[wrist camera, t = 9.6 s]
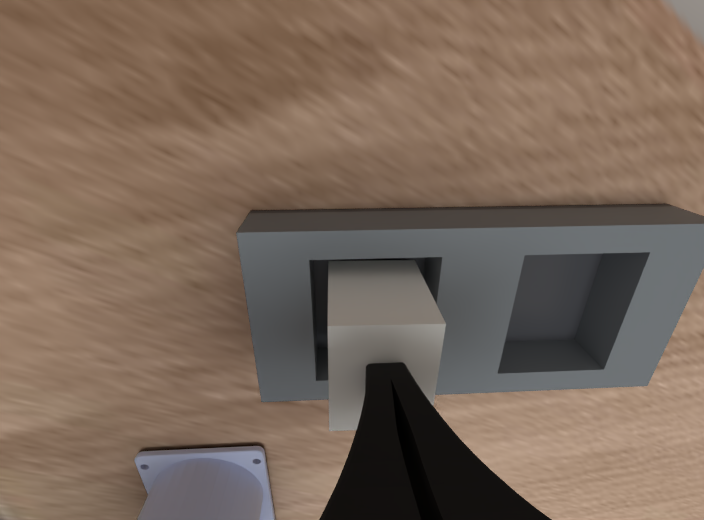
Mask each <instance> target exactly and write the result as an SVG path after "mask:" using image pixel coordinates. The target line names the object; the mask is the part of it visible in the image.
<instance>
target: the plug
mask: <svg viewBox="0 0 704 520" xmlns="http://www.w3.org/2000/svg"><path fill="white" fill-rule="evenodd" d="M445 327H446V323H445V321H444V319H443V317H442V315H441V313H440V311H439V308H438V306H437V304H436V302H435V300H434V298H433V296H432V294H431V292H430V290H429V288H428V286H427V284H426V282H425V280H424V278H423V276H422V274H421V272H420V270H419V268H418V266H417V264H416V262H415V260H375V261H328V383H329V431H343V430H357V427H358V423H359V420H360V416H361V412H362V407H363V402H364V397H365V380H366V366H367V365H368V364H372V363H398V362H403V363H404V364H405V365H406V366H407V368H408V370H409V371H410V373H411V375H412V376H413V378H414V379H415V381H416V383H417V384H418V386H419V387H420V389H421V390H422V392H423V393H424V394H425V396H426V397H427V399H428V400H429V401H430V403H431V404H432V405H433V404H434V398H435V391H436V385H437V379H438V372H439V366H440V359H441V353H442V347H443V340H444V334H445Z"/></svg>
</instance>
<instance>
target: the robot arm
mask: <svg viewBox="0 0 704 520" xmlns="http://www.w3.org/2000/svg"><path fill="white" fill-rule="evenodd" d="M134 460H135V464H136V466H137V469H138V471H139V474H140V476H141V479H142V481H143V484H144V486H145V489H146V491H147V494H148V496H147V499H146V501H145V503H144V505H143V507H142V510H141V512H140V514H139V516H138V519H137V520H275V514H274V507H273V501H272V495H271V488H270V482H269V476H268V469H267V463H266V456H265V451H264V449H263V448H262V447H260V446H243V447H222V448H201V449H180V450H159V451H142V452H139V453H138V454H137V456H136V458H135V459H134ZM319 520H551V519H550V518H549V517H547V516H546V515H544V514H543V513H542V512H540V511H539V510H537V509H536V508H535V507H534V506H532V505H531V504H530V503H529V502H527V501H526V500H525V499H524V498H522V497H521V496H520V495H519V494H517V493H516V492H515V491H514V490H513V489H512V488H510V487H509V486H508V485H507V484H506V483H505V482H504V481H503V480H501V479H500V478H499V477H498V476H497V475H496V474H495V473H493V472H492V471H491V470H490V469H489V468H488V467H487V466H486V465H485V464H484V463H483V462H482V461H481V460H480V459H479V458H478V457H477V456H476V455H475V454H474V453H473V452H472V451H471V450H470V449H469V448H468V447H467V446H466V445H465V444H464V443H463V442H462V441H461V440H460V438H459V437H458V436H457V435H456V434H455V433H454V432H453V430H452V429H451V428H450V427H449V426H448V424H447V423H446V422H445V421H444V420H443V418H442V417H441V416H440V415H439V413H438V412H437V411H436V409H435V408H434V407H433V405H432V404H431V403H430V401H429V400H428V399H427V397H426V396H425V394H424V393H423V392H422V390H421V389H420V387H419V386H418V384H417V383H416V381H415V379H414V378H413V376H412V375H411V373H410V371H409V370H408V368H407V366H406V365H405V364H404V363H403V362H398V363H372V364H368V365H367V366H366V380H365V397H364V402H363V407H362V412H361V416H360V420H359V423H358V427H357V430H356V434H355V437H354V440H353V443H352V446H351V449H350V452H349V455H348V458H347V460H346V463H345V465H344V468H343V470H342V473H341V475H340V478H339V480H338V482H337V484H336V487H335V489H334V491H333V493H332V495H331V497H330V499H329V501H328V503H327V505H326V507H325V510H324V512H323V514H322V516H321V518H320V519H319Z"/></svg>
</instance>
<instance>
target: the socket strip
mask: <svg viewBox="0 0 704 520" xmlns="http://www.w3.org/2000/svg"><path fill="white" fill-rule="evenodd" d="M236 234H237V241H238V248H239V254H240V261H241V268H242V274H243V281H244V288H245V294H246V301H247V308H248V315H249V321H250V328H251V335H252V341H253V348H254V355H255V361H256V368H257V375H258V382H259V388H260V395H261V402H277V401H301V400H324V399H329V383H328V261H375V260H415V262H416V264H417V266H418V268H419V270H420V272H421V274H422V276H423V278H424V280H425V282H426V284H427V286H428V288H429V290H430V292H431V294H432V296H433V298H434V300H435V302H436V304H437V306H438V308H439V311H440V313H441V315H442V317H443V319H444V321H445V323H446V327H445V334H444V340H443V347H442V353H441V359H440V366H439V372H438V379H437V385H436V391H435V395H443V394H467V393H491V392H515V391H538V390H562V389H586V388H610V387H633V386H648V383H649V381H650V379H651V377H652V375H653V373H654V371H655V369H656V367H657V365H658V362H659V360H660V358H661V356H662V354H663V352H664V350H665V348H666V346H667V344H668V341H669V339H670V337H671V335H672V333H673V331H674V329H675V327H676V325H677V323H678V320H679V318H680V316H681V314H682V312H683V310H684V308H685V306H686V304H687V302H688V299H689V297H690V295H691V293H692V291H693V289H694V287H695V285H696V283H697V281H698V278H699V276H700V274H701V272H702V270H703V268H704V216H701V215H699V214H696V213H693V212H690V211H687V210H684V209H681V208H678V207H675V206H672V205H669V204H631V205H569V206H507V207H445V208H383V209H321V210H259V211H250V213H249V214H248V216H247V217H246V219H245V220H244V222H243V223H242V225H241V226H240V228H239V229H238V231H237V232H236Z"/></svg>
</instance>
